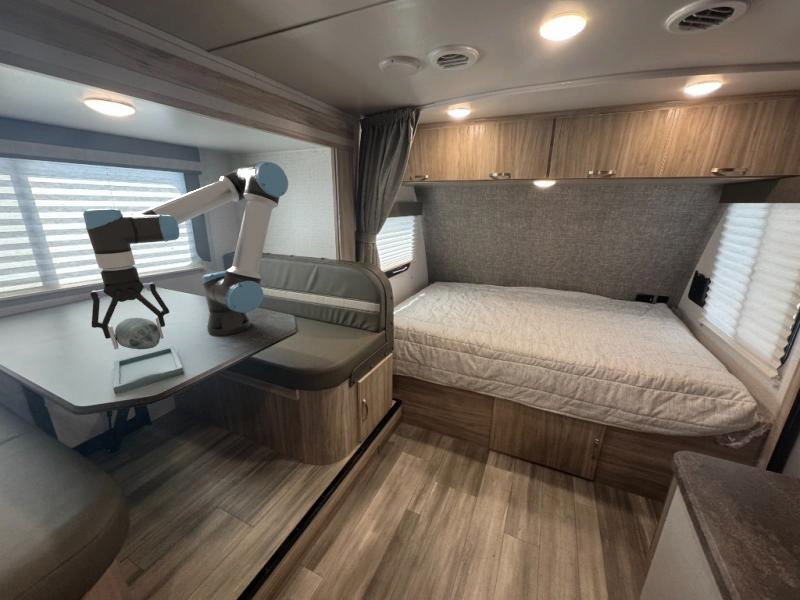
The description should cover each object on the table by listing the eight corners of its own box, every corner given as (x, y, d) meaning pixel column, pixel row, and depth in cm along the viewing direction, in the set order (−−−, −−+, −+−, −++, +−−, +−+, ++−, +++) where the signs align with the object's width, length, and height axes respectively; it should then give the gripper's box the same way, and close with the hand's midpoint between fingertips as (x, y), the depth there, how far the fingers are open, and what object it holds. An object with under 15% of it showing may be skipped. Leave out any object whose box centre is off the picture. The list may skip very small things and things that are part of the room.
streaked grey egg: (173, 333, 92) (144, 309, 87) (143, 358, 86) (110, 334, 81) (160, 333, 101) (133, 311, 96) (132, 356, 95) (102, 333, 90)
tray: (175, 351, 106) (174, 345, 106) (183, 373, 92) (182, 367, 92) (116, 366, 97) (114, 361, 96) (115, 394, 83) (113, 387, 82)
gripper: (166, 260, 95) (183, 328, 101) (61, 271, 81) (88, 349, 87) (169, 264, 89) (186, 335, 96) (57, 276, 75) (86, 359, 82)
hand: (140, 342), depth 92 cm, fingers closed on streaked grey egg, 10 cm apart
